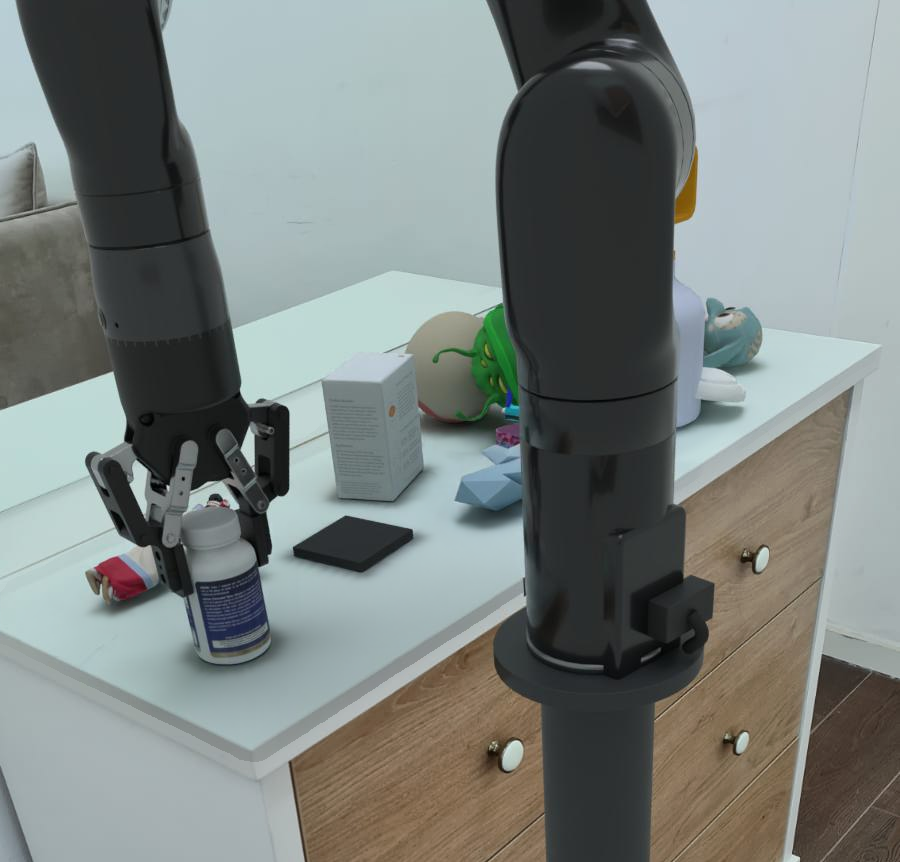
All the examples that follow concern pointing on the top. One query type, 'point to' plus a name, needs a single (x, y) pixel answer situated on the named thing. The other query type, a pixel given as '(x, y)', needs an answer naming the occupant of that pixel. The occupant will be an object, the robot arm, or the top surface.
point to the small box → (374, 425)
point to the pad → (353, 543)
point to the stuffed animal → (730, 335)
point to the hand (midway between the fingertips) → (220, 576)
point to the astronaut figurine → (719, 386)
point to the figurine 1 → (133, 567)
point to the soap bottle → (688, 316)
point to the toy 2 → (447, 367)
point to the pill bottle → (223, 588)
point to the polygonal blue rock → (494, 480)
